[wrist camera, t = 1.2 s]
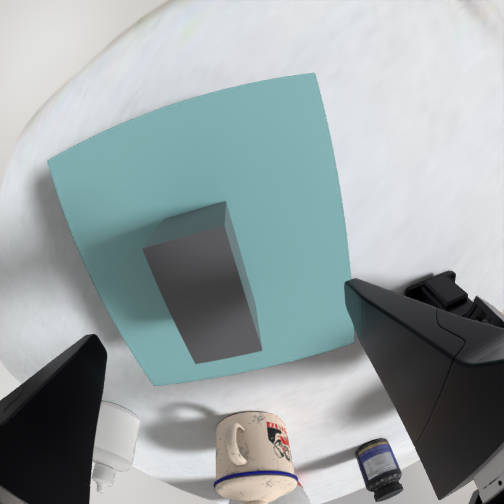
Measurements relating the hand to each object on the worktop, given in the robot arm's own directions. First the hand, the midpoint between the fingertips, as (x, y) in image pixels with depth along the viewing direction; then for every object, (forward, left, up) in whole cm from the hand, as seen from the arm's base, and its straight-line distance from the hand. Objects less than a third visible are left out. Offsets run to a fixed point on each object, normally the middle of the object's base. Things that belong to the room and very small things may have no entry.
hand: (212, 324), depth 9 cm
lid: (-1, 0, -8) cm, 8 cm away
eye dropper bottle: (-20, +19, -12) cm, 30 cm away
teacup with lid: (-25, +4, -12) cm, 28 cm away
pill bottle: (-44, -13, -12) cm, 47 cm away
